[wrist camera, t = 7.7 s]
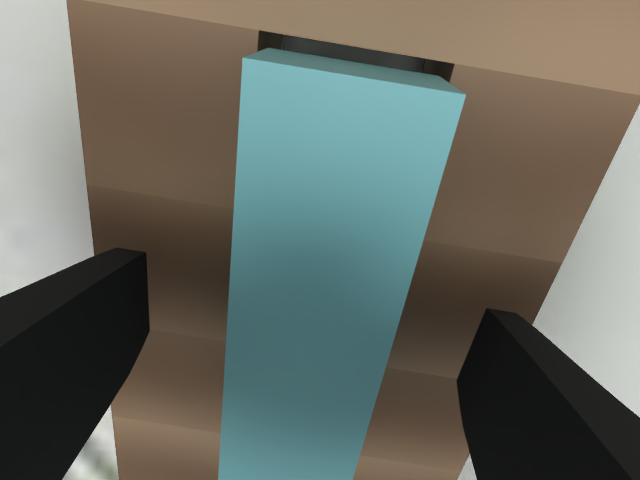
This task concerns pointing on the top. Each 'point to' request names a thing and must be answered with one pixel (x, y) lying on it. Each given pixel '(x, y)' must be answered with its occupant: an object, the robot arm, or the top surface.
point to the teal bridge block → (323, 253)
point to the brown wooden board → (444, 224)
